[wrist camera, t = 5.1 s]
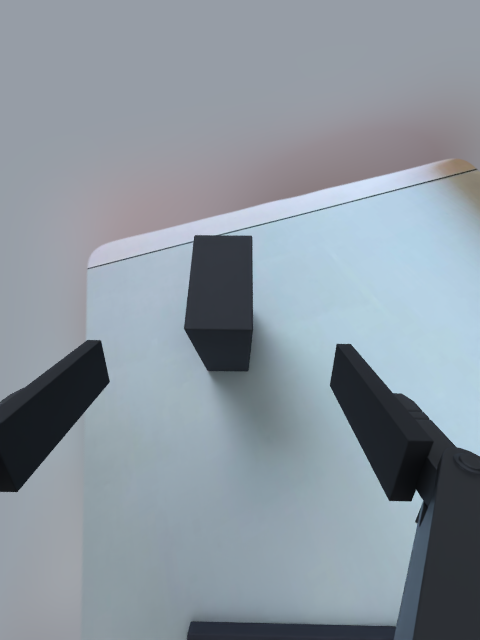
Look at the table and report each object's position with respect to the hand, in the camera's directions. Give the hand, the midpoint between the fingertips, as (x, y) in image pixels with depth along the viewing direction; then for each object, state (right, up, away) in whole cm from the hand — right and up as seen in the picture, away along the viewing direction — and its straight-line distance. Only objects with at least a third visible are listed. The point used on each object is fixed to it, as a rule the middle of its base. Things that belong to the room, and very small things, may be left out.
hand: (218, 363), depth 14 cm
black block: (0, +1, +12) cm, 12 cm away
